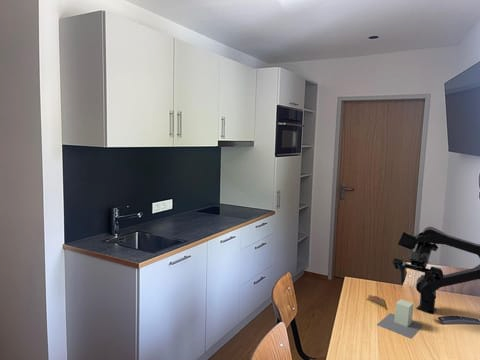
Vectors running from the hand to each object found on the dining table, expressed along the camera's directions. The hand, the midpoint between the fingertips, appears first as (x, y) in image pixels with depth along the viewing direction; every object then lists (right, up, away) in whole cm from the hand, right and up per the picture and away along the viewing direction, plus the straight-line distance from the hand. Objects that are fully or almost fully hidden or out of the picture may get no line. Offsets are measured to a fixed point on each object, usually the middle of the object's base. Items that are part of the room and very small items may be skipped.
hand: (410, 286), depth 141 cm
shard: (-7, -13, +15) cm, 21 cm away
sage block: (-4, -14, -2) cm, 14 cm away
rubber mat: (-6, -14, -5) cm, 16 cm away
